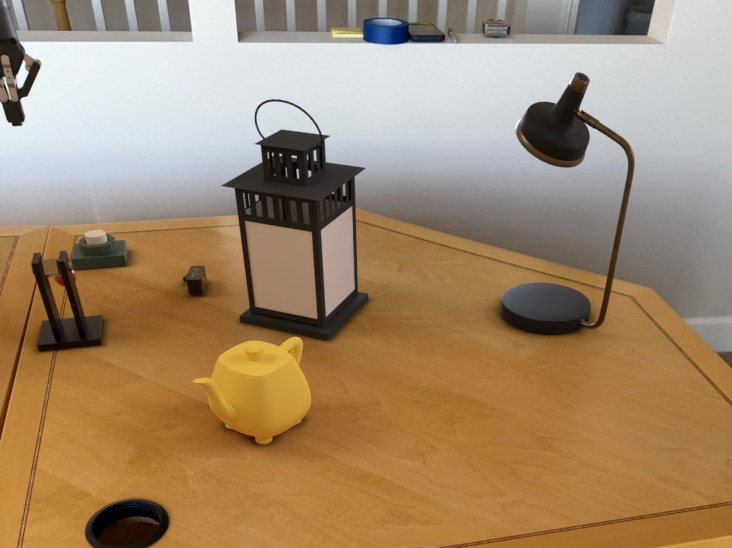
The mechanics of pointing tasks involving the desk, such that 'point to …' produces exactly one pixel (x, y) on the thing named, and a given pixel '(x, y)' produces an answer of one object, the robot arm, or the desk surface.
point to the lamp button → (95, 237)
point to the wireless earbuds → (196, 280)
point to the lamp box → (99, 254)
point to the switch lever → (54, 270)
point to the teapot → (259, 388)
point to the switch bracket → (68, 329)
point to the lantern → (298, 236)
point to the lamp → (562, 149)
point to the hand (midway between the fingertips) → (18, 124)
